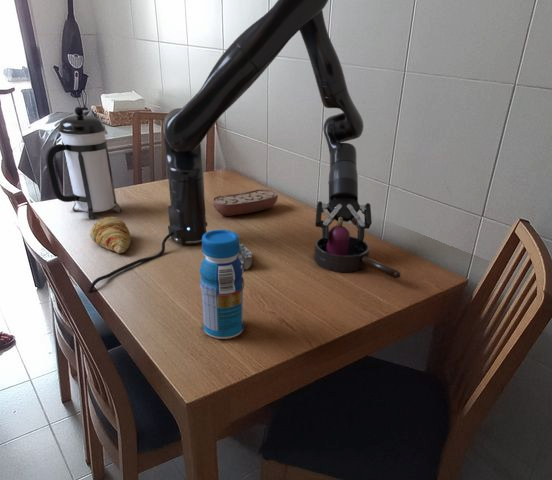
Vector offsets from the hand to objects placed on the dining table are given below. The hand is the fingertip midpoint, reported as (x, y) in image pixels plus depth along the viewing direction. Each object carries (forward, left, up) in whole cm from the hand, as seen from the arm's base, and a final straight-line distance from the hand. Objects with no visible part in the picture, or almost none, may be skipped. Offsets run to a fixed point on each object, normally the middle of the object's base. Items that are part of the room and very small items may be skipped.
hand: (343, 242), depth 123 cm
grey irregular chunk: (-22, +17, -6) cm, 28 cm away
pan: (+1, +1, -6) cm, 6 cm away
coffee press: (-36, +73, -6) cm, 82 cm away
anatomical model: (+4, +46, -6) cm, 47 cm away
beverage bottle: (-43, -8, -6) cm, 44 cm away
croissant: (-42, +47, -6) cm, 64 cm away
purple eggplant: (+1, +3, -5) cm, 6 cm away
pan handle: (+1, -12, -4) cm, 13 cm away
